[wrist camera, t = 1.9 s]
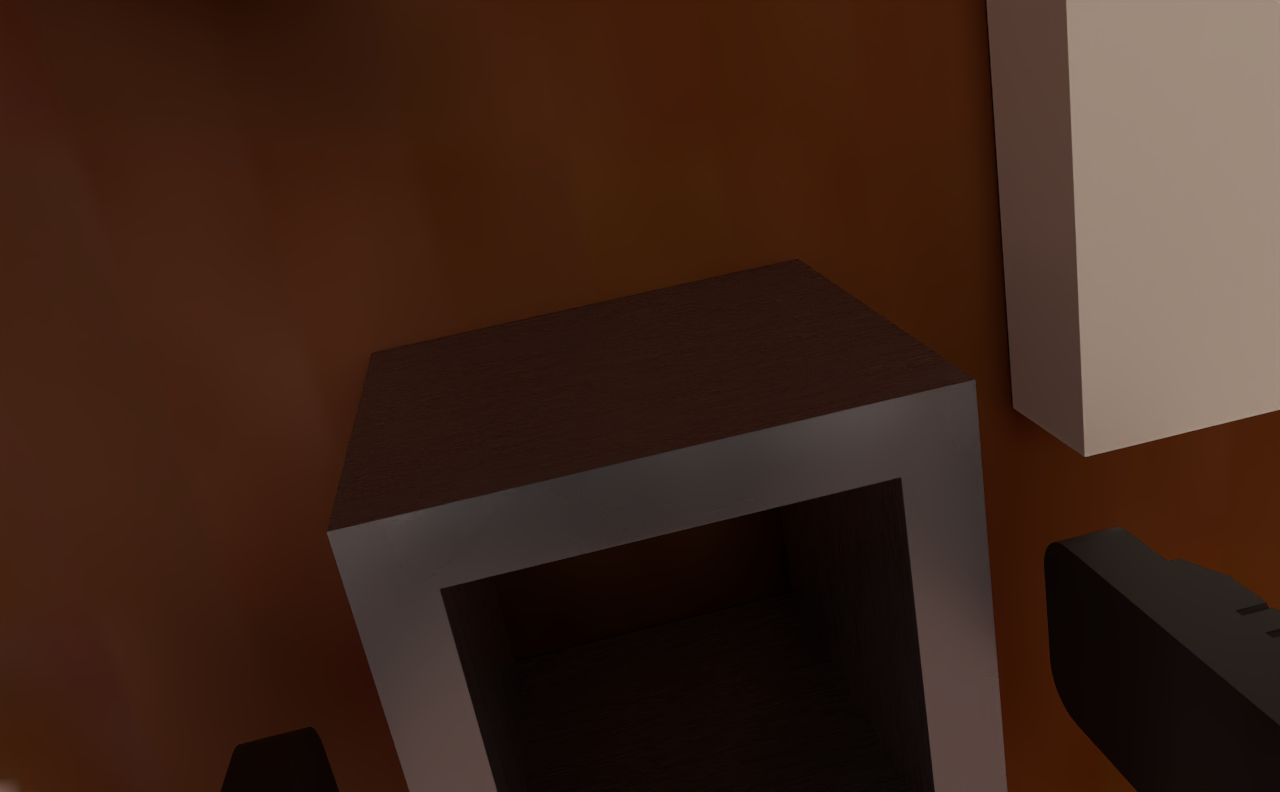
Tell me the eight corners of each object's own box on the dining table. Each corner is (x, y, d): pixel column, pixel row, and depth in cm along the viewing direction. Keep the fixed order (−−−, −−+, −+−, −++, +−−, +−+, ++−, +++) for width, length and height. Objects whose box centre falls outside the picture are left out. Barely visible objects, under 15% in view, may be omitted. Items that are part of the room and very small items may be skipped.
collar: (372, 353, 15) (327, 532, 9) (798, 259, 15) (975, 379, 10) (475, 717, 17) (484, 1027, 12) (847, 623, 17) (1014, 878, 12)
